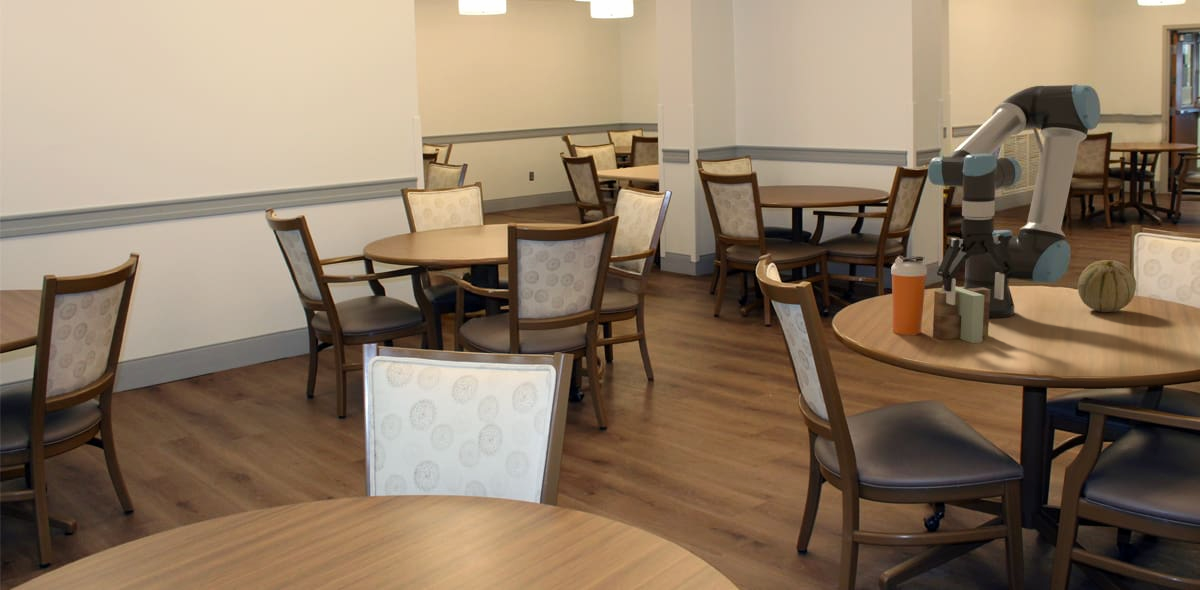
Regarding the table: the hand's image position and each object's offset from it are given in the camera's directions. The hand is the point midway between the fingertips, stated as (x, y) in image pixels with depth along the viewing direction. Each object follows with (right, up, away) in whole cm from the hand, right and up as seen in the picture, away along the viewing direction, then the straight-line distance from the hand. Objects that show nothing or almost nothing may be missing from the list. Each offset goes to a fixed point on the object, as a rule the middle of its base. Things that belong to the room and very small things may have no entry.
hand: (974, 301), depth 253 cm
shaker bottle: (-13, -8, +12) cm, 20 cm away
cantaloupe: (+47, -3, +30) cm, 56 cm away
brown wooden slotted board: (-1, -9, +6) cm, 11 cm away
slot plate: (-1, -9, +6) cm, 11 cm away
